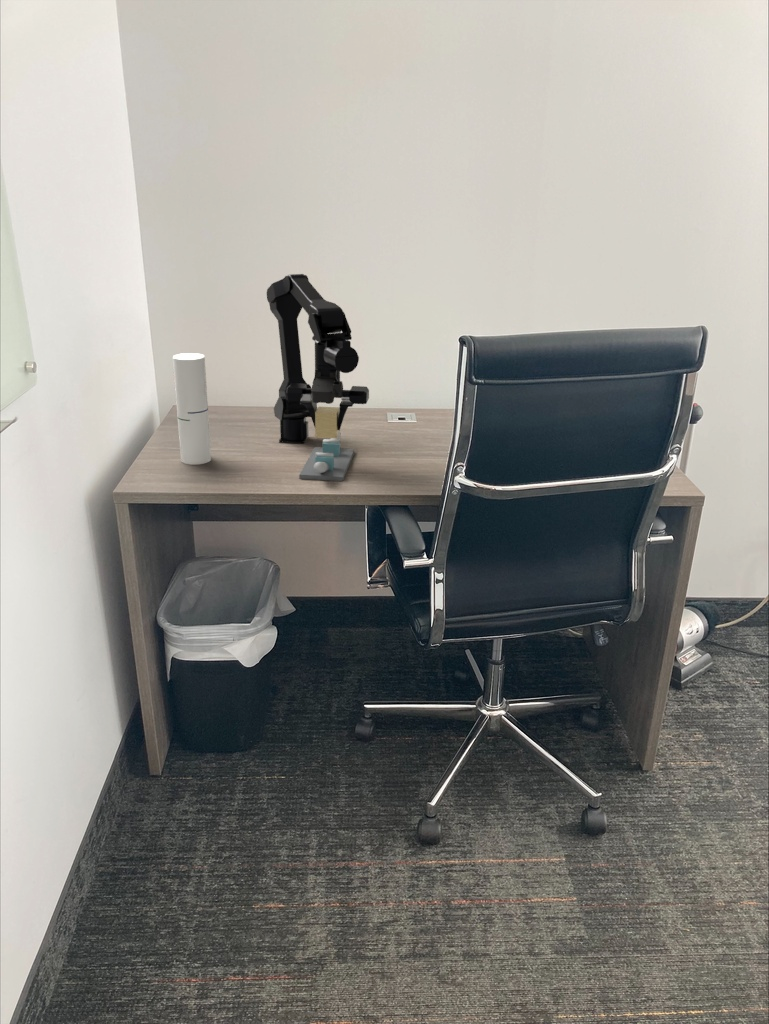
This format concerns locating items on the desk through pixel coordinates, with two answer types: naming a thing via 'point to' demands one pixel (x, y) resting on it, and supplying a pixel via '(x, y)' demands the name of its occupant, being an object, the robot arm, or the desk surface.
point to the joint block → (327, 422)
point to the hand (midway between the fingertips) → (327, 429)
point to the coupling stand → (327, 461)
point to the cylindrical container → (192, 408)
